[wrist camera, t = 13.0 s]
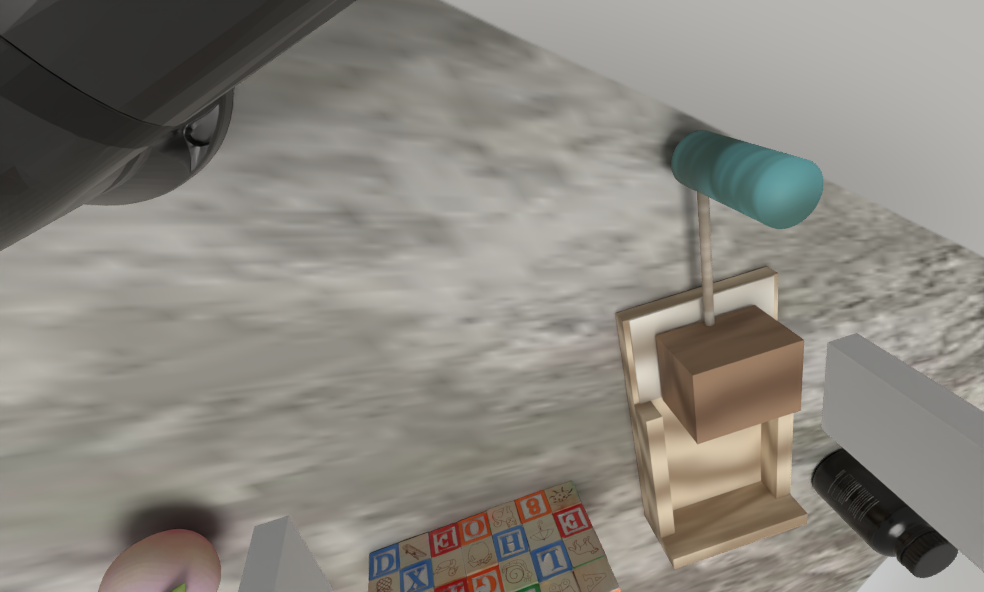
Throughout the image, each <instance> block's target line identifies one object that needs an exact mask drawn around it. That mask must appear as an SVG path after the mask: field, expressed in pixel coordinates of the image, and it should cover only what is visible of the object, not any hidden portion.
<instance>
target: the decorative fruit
mask: <svg viewBox="0 0 984 592" xmlns="http://www.w3.org/2000/svg"><path fill="white" fill-rule="evenodd" d="M220 579H221V566H220V561H219V557H218V555H217V552H216V550H215V549H214V547H213V546H212V544H211V543H210V542H209V541H208V540H207V539H206V538H205V537H203V536H202V535H200V534H198V533H196V532H194V531H190V530H186V529H171V530H166V531H163V532H159V533H156V534H153V535H151V536H149V537H146V538H144V539H142V540H141V541H139V542H137V543H135V544H134V545H132V546H130V547H129V548H128V549H126V550H125V551H124V552H122V553H121V554H120V555H119V556H118V557H117V558H116V559H115V561H114V562H113V563H112V564H111V566H110V567H109V568H108V570H107V571H106V573H105V575H104V577H103V579H102V582H101V584H100V587H99V590H98V592H217V590H218V588H219V584H220Z"/></svg>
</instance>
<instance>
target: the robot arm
mask: <svg viewBox="0 0 984 592" xmlns="http://www.w3.org/2000/svg"><path fill="white" fill-rule="evenodd" d="M355 1H356V0H0V251H2V250H3V249H5V248H7V247H9V246H10V245H12V244H14V243H16V242H18V241H19V240H21V239H23V238H25V237H26V236H28V235H30V234H32V233H34V232H35V231H37V230H39V229H41V228H42V227H44V226H46V225H48V224H50V223H51V222H53V221H55V220H57V219H58V218H60V217H62V216H64V215H66V214H67V213H69V212H71V211H73V210H74V209H76V208H78V207H80V206H82V205H83V204H86V205H125V204H132V203H138V202H142V201H146V200H150V199H153V198H156V197H159V196H161V195H164V194H166V193H168V192H170V191H172V190H174V189H176V188H177V187H179V186H181V185H182V184H184V183H185V182H186V181H188V180H189V179H190V178H192V177H193V176H194V175H196V174H197V173H198V172H199V171H200V170H202V169H203V168H204V167H205V166H206V165H207V164H208V162H209V161H210V160H211V159H212V158H213V156H214V155H215V154H216V152H217V151H218V149H219V147H220V145H221V144H222V142H223V140H224V137H225V135H226V132H227V129H228V126H229V123H230V118H231V113H232V106H233V87H235V86H236V85H238V84H239V83H241V82H242V81H243V80H245V79H246V78H248V77H249V76H250V75H252V74H253V73H255V72H256V71H257V70H259V69H260V68H262V67H263V66H264V65H266V64H267V63H269V62H270V61H272V60H273V59H274V58H276V57H277V56H279V55H280V54H281V53H283V52H284V51H286V50H287V49H288V48H290V47H291V46H293V45H294V44H296V43H297V42H298V41H300V40H301V39H303V38H304V37H305V36H307V35H308V34H310V33H311V32H312V31H314V30H315V29H317V28H318V27H319V26H321V25H322V24H324V23H325V22H327V21H328V20H329V19H331V18H332V17H334V16H335V15H336V14H338V13H339V12H341V11H342V10H343V9H345V8H346V7H348V6H349V5H351V4H352V3H353V2H355ZM821 429H822V430H824V431H825V432H826V433H827V434H828V435H829V436H830V437H831V438H833V439H834V440H835V441H836V442H837V443H838V444H839V445H840V446H842V447H843V448H844V449H845V450H846V451H847V452H848V453H849V454H851V455H852V456H853V457H854V458H855V459H856V460H857V461H859V462H860V463H861V464H862V465H863V466H864V467H865V468H866V469H868V470H869V471H870V472H871V473H872V474H873V475H874V476H875V477H877V478H878V479H879V480H880V481H881V482H882V483H883V484H885V485H886V486H887V487H888V488H889V489H890V490H891V491H892V492H894V493H895V494H896V495H897V496H898V497H899V498H900V499H901V500H903V501H904V502H905V503H906V504H907V505H908V506H909V507H911V508H912V509H913V510H914V511H915V512H916V513H917V514H918V515H920V516H921V517H922V518H923V519H924V520H925V521H926V522H927V523H929V524H930V525H931V526H932V527H933V528H934V529H935V530H936V531H938V532H939V533H940V534H941V535H942V536H943V537H944V538H946V539H947V540H948V541H949V542H950V543H951V544H952V545H953V546H955V547H956V548H957V549H958V550H959V551H960V552H961V553H962V554H964V555H965V556H966V557H967V558H968V559H969V560H970V561H972V562H973V563H974V564H975V565H976V566H977V567H978V568H979V569H981V570H982V571H983V572H984V412H983V411H982V410H980V409H978V408H977V407H975V406H974V405H972V404H970V403H969V402H967V401H965V400H964V399H962V398H961V397H959V396H957V395H956V394H954V393H953V392H951V391H949V390H948V389H946V388H945V387H943V386H941V385H940V384H938V383H936V382H935V381H933V380H932V379H930V378H928V377H927V376H925V375H924V374H922V373H920V372H919V371H917V370H915V369H914V368H912V367H911V366H909V365H907V364H906V363H904V362H903V361H901V360H899V359H898V358H896V357H895V356H893V355H891V354H890V353H888V352H886V351H885V350H883V349H882V348H880V347H878V346H877V345H875V344H874V343H872V342H870V341H869V340H867V339H865V338H864V337H862V336H861V335H859V334H857V333H856V334H853V335H850V336H846V337H843V338H840V339H837V340H834V341H831V342H828V343H827V357H826V370H825V384H824V397H823V410H822V424H821ZM333 591H334V590H333V588H332V587H331V585H330V584H329V582H328V580H327V579H326V577H325V575H324V574H323V572H322V570H321V569H320V567H319V565H318V564H317V562H316V560H315V559H314V557H313V555H312V554H311V552H310V551H309V549H308V547H307V546H306V544H305V542H304V541H303V539H302V537H301V536H300V534H299V532H298V531H297V529H296V527H295V526H294V524H293V522H292V521H291V519H290V517H289V516H286V517H283V518H280V519H277V520H274V521H271V522H268V523H264V524H261V525H258V526H255V527H254V531H253V535H252V539H251V543H250V547H249V551H248V555H247V559H246V563H245V567H244V571H243V575H242V579H241V583H240V587H239V591H238V592H333Z"/></svg>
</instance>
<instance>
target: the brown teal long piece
mask: <svg viewBox="0 0 984 592" xmlns="http://www.w3.org/2000/svg"><path fill="white" fill-rule="evenodd" d="M671 168H672V173H673V175H674V177H675V178H676V180H677V181H678V182H680V183H681V184H683V185H685V186H687V187H689V188H691V189H693V190H695V191H697V200H698V218H699V236H700V255H701V273H702V291H703V310H704V321H701V322H698V323H695V324H692V325H689V326H685V327H682V328H679V329H676V330H673V331H669V332H666V333H663V334H660V335H657V336H656V343H657V352H658V362H659V371H660V381H661V390H662V399H663V401H664V402H665V403H666V405H667V406H668V407H669V409H670V410H671V411H672V412H673V414H674V415H675V416H676V418H677V419H678V420H679V421H680V423H681V424H682V425H683V426H684V428H685V429H686V430H687V432H688V433H689V434H690V435H691V437H692V438H693V439H694V441H695V442H696V443H697V444H700V443H703V442H706V441H709V440H712V439H715V438H719V437H722V436H725V435H728V434H731V433H734V432H737V431H740V430H743V429H746V428H749V427H752V426H755V425H758V424H761V423H764V422H767V421H770V420H773V419H776V418H779V417H782V416H785V415H789V414H792V413H795V412H798V411H801V393H802V373H803V353H804V340H803V339H802V338H801V337H799V336H798V335H796V334H795V333H794V332H792V331H791V330H789V329H788V328H787V327H785V326H784V325H782V324H781V323H780V322H778V321H777V320H775V319H774V318H773V317H771V316H770V315H768V314H767V313H766V312H764V311H763V310H761V309H760V308H759V307H757V306H756V305H752V306H749V307H746V308H743V309H740V310H736V311H733V312H730V313H727V314H724V315H720V316H717V317H714V299H713V276H712V253H711V231H710V208H709V197H710V198H712V199H714V200H716V201H718V202H720V203H722V204H724V205H726V206H728V207H730V208H732V209H734V210H737V211H739V212H741V213H743V214H745V215H747V216H749V217H751V218H753V219H755V220H757V221H759V222H761V223H763V224H765V225H767V226H769V227H772V228H776V229H786V228H790V227H792V226H795V225H797V224H799V223H800V222H802V221H803V220H804V219H806V218H807V217H808V216H809V215H810V214H811V213H812V211H813V210H814V209H815V207H816V206H817V204H818V202H819V200H820V197H821V195H822V191H823V176H822V172H821V170H820V169H819V168H818V166H817V165H816V164H815V163H813V162H812V161H810V160H807V159H803V158H800V157H796V156H793V155H789V154H786V153H782V152H779V151H776V150H772V149H768V148H765V147H762V146H758V145H755V144H751V143H748V142H744V141H741V140H737V139H734V138H730V137H727V136H723V135H720V134H716V133H713V132H709V131H704V130H700V131H695V132H692V133H690V134H688V135H687V136H685V137H684V138H683V139H682V140H681V141H680V142H679V144H678V145H677V146H676V148H675V150H674V152H673V155H672V160H671Z"/></svg>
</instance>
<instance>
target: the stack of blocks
mask: <svg viewBox="0 0 984 592" xmlns="http://www.w3.org/2000/svg"><path fill="white" fill-rule="evenodd" d="M368 592H621V590H620V587H619V585H618V583H617V580H616V578H615V576H614V574H613V572H612V569H611V567H610V565H609V563H608V560H607V557H606V554H605V552H604V550H603V548H602V545H601V543H600V541H599V539H598V536H597V534H596V532H595V530H594V529H593V526H592V524H591V522H590V520H589V518H588V515H587V513H586V511H585V509H584V507H583V505H582V503H581V500H580V498H579V495H578V493H577V491H576V489H575V486H574V484H573V482H572V481H569V482H566V483H563V484H560V485H557V486H555V487H552V488H549V489H546V490H541V491H539V492H536V493H533V494H530V495H528V496H525V497H522V498H519V499H516V500H514V501H511V502H508V503H505V504H502V505H499V506H496V507H494V508H491V509H488V510H487V511H486V512H483V513H480V514H477V515H475V516H472V517H469V518H466V519H464V520H461V521H459V522H457V523H454V524H451V525H448V526H445V527H442V528H440V529H437V530H434V531H432V532H430V533H425V534H422V535H419V536H417V537H414V538H411V539H408V540H406V541H403V542H400V543H398V544H394V545H392V546H389V547H386V548H383V549H381V550H378V551H375V552H373V553H370V555H369V584H368Z"/></svg>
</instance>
